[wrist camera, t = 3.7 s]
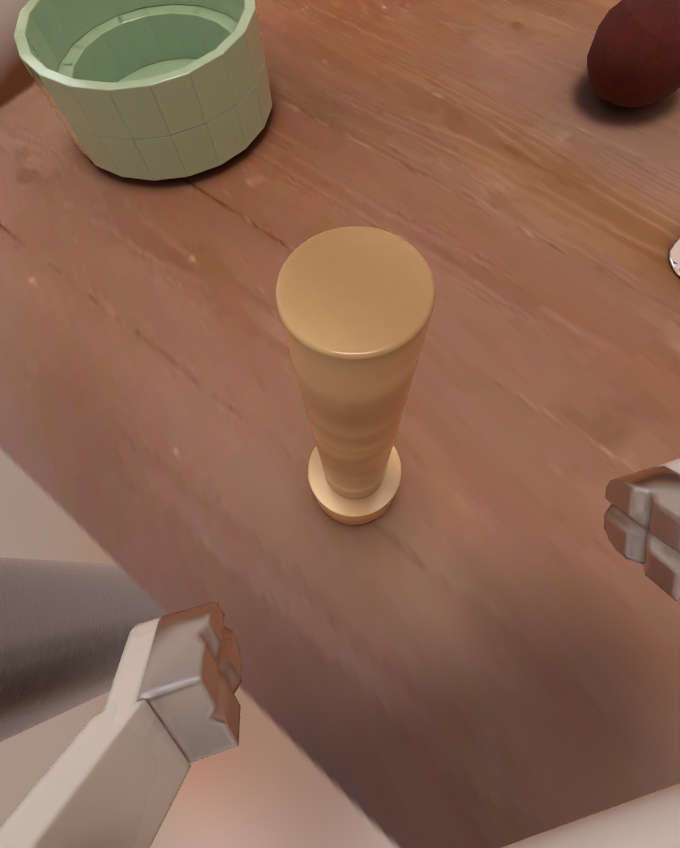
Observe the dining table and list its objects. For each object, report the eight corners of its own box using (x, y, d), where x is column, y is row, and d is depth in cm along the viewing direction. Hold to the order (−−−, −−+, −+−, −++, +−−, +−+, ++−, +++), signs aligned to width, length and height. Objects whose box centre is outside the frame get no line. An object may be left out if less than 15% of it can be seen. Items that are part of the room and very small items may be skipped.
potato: (553, 70, 33) (593, -33, 28) (652, 56, 33) (713, -50, 28) (587, 133, 31) (639, 33, 25) (694, 117, 31) (771, 14, 25)
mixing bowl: (149, 221, 29) (94, 126, 23) (43, 116, 33) (-27, 13, 27) (313, 114, 32) (303, 6, 26) (197, 31, 37) (166, -78, 30)
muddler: (352, 543, 21) (348, 460, 6) (296, 481, 22) (178, 284, 7) (412, 484, 22) (537, 287, 7) (355, 428, 23) (359, 157, 8)
